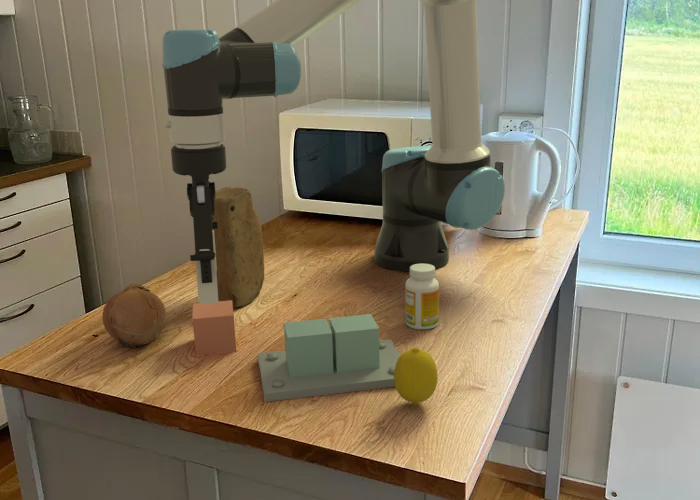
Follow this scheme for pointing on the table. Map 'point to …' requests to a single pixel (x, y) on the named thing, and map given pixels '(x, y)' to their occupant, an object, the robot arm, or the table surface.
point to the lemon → (415, 375)
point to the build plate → (326, 381)
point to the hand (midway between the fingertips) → (208, 285)
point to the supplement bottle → (422, 297)
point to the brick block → (214, 327)
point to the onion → (134, 316)
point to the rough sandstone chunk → (237, 247)
